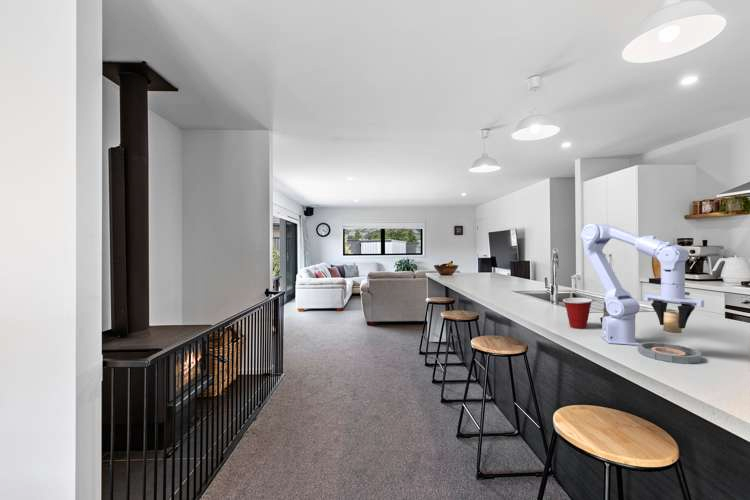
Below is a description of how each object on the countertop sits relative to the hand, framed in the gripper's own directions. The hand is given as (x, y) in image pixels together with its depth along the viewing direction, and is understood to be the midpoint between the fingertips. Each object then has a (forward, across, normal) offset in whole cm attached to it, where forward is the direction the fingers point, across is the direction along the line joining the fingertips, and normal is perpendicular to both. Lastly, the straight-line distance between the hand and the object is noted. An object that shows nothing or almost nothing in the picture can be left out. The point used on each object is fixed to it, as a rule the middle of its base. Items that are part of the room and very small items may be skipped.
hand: (672, 326), depth 108 cm
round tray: (+9, 0, +2) cm, 9 cm away
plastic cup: (+9, +35, -8) cm, 37 cm away
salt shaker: (+9, +29, -18) cm, 35 cm away
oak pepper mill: (+2, 0, 0) cm, 2 cm away
